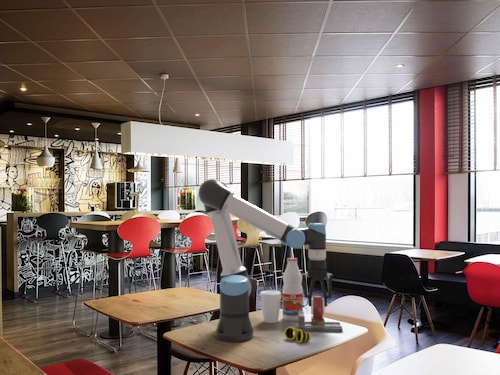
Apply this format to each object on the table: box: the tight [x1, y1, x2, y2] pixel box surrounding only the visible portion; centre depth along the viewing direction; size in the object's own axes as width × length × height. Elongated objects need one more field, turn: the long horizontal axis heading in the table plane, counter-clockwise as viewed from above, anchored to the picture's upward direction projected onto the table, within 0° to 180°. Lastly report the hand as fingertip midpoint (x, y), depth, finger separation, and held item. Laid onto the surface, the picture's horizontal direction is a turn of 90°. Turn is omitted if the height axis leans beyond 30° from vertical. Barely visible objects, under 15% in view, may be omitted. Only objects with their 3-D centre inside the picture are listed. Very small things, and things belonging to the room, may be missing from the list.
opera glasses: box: [284, 326, 311, 344], centre depth 166 cm, size 10×5×5 cm, turn 39°
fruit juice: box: [281, 257, 304, 322], centre depth 200 cm, size 9×9×28 cm
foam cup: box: [260, 290, 282, 324], centre depth 195 cm, size 10×9×13 cm
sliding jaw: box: [310, 295, 326, 325], centre depth 183 cm, size 5×8×11 cm, turn 176°
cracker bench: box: [297, 311, 343, 333], centre depth 182 cm, size 18×10×6 cm, turn 86°
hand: (317, 314), depth 183 cm, fingers closed on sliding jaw, 4 cm apart
